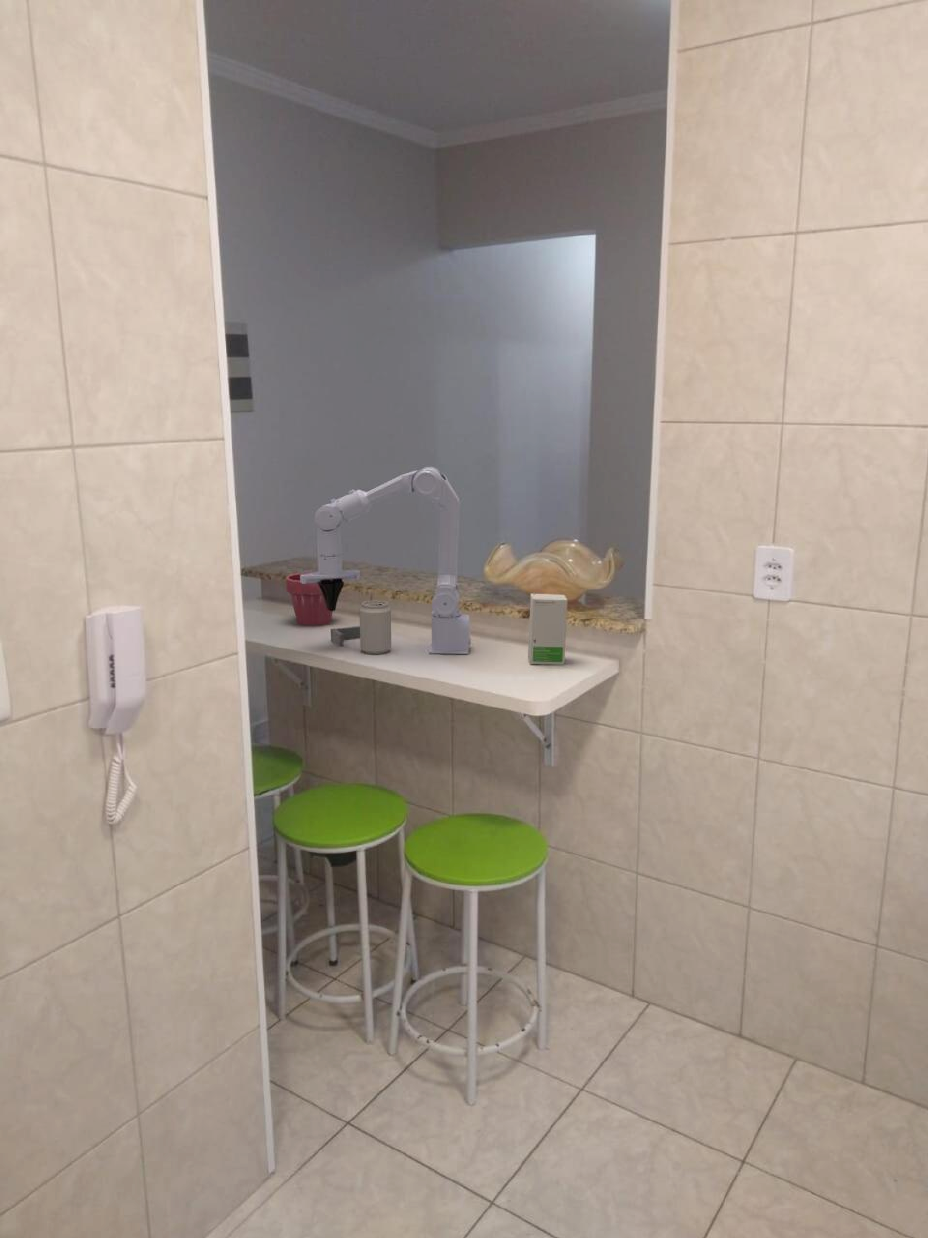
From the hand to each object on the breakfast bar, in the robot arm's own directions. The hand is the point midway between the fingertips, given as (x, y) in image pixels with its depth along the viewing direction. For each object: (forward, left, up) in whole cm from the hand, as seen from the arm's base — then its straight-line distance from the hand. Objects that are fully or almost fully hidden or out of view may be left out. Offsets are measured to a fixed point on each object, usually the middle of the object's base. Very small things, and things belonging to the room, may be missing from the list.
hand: (331, 610), depth 230 cm
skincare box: (-52, +8, -10) cm, 53 cm away
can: (-11, +2, -10) cm, 15 cm away
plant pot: (+10, -26, -10) cm, 29 cm away
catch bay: (-6, -7, -9) cm, 13 cm away
